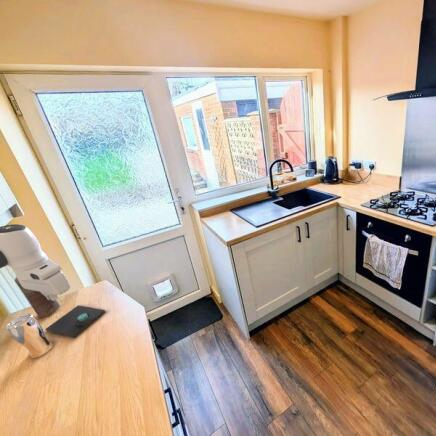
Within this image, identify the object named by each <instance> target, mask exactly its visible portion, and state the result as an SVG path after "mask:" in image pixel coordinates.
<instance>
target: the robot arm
mask: <svg viewBox="0 0 436 436" xmlns="http://www.w3.org/2000/svg"><path fill="white" fill-rule="evenodd" d="M7 266H8V267H10V268H11V270H12V271H13V272H14V274H15V276H16V277H17V279H18V281H19V282H20V284H21V286H22V287H23V288H25V289H29V290H34V291H40V292H41V293H42V294H43V295H44V296H46V298H47V299H48V300H53V301H54V300H56V301H57V300H58V299H59V296H61V295H63V294H65V293H67V292H68V291H69V290H70V289H71V285H70V283H69V281H68V278H67V277H66V275H65V273H64V272H63V271H62V270H63V267H62V266H61V264H59V263H57V262H55V261H53V260H52V259H50V258H49V257H48V255H47V254H46V253H45V252H44V251H43V249H42V247H41V243H40V242H39V240H38V239H37V237H36V236H35V234H34V233H33V231H31V229H30V228H28V226H26V225H23V224H17V223H15V224H12V223H11V224H6V225H1V226H0V269H2V268H5V267H7ZM16 277H15V278H16Z"/></svg>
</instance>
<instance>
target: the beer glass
mask: <svg viewBox="0 0 436 436" xmlns="http://www.w3.org/2000/svg"><path fill="white" fill-rule="evenodd" d="M5 329H6V330H7V331H8V333H9V335H10V336H11V338H13V339H14V340H15V341H16V342H17V343H18V344H20V345H21V346H22V347H24V348H25V349H26V350H27V351H28V353H29V356H30V357H31V359H32V358H33V359H36V358H39V357H41V356H44V355H45V354H47V353H48V352H50V350H51V349H52V348H53V346H54V344H53V342H52V341H50V340H49V339H48V338H47V336H46V333H45V332H44V329H43V326H42V325H41V323H40V321H39V320H38V319H37V318H36V317H35V316H34V315H33V314H32V313H29V312H28V313H24V314H21V315H19V316H16V317H15V318H13V319H11V320H10V321H8V323H7V324H6V326H5Z"/></svg>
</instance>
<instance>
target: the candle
mask: <svg viewBox="0 0 436 436" xmlns="http://www.w3.org/2000/svg"><path fill="white" fill-rule="evenodd" d="M14 282H15V284H16V285H17V287H18V288H19V289H20V291H21V292H22V294H23V295H24V297H25V298H26V300H27V301H28V303H29V304H30V306H31V308H32V309H33V311H34V312H35V314H36V316H37V317H38V318H42V317H47V316H49V315H50V314H52V313H54V312H56V311H57V310H58V309H59V307H60V304H59V302H58V300H57V299H56V300H54V301H53V300H48V299H47V298H46V296H44V295H43V294H42V293H41V292H40V291H34V290H29V289H25V288H23V287H22V286H21V284H20V282H19V281H18V279H17V277H15V278H14Z"/></svg>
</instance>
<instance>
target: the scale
mask: <svg viewBox="0 0 436 436" xmlns="http://www.w3.org/2000/svg"><path fill="white" fill-rule="evenodd" d="M84 313H86V314H87V315H88V318H87V319H86V320H84V321H82V322H79V320H78V317H79V316H80V315H81V314H84ZM105 314H106V311H105V309H101V308H95V307H89V306H83V305H77V306H74V308H73V309H71V310H70V311H68V312H66V313H65V314H64V315H62V316H61V317H60V318H59V319H57V320H55V321H54V322H53V323H51V324H50V325H48V327H46V328H45V329H44V330H45V331H46V332H48V333H52V334H56V335H60V336H64V337H68V338H72V339H76V338H77V337H78V336H79V335H80V334H81V333H83V332H84V331H85V330H86V329H88V328H89V327H90V326H91V325H92V324H94V323H95V322H96V321H97V320H98V319H100V318H101V317H102V316H104V315H105Z"/></svg>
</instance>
